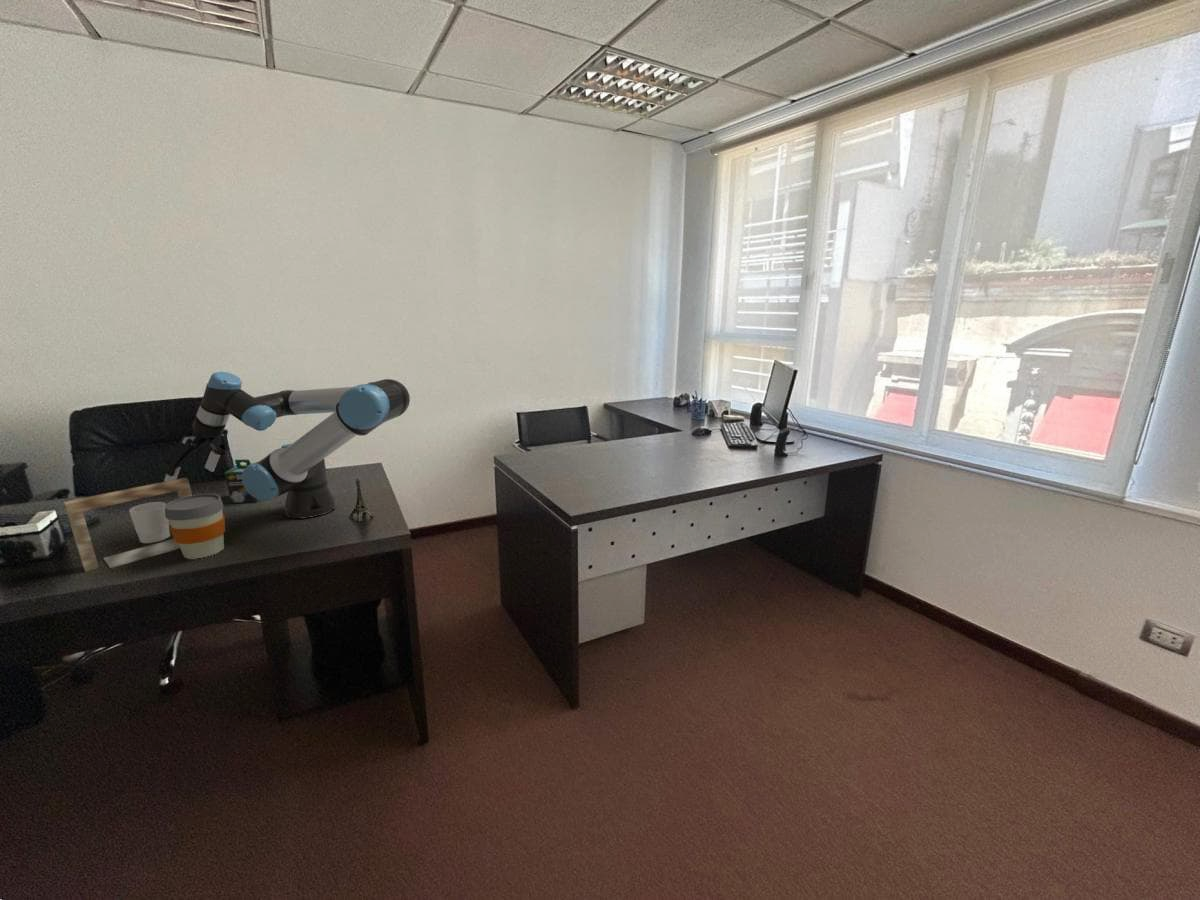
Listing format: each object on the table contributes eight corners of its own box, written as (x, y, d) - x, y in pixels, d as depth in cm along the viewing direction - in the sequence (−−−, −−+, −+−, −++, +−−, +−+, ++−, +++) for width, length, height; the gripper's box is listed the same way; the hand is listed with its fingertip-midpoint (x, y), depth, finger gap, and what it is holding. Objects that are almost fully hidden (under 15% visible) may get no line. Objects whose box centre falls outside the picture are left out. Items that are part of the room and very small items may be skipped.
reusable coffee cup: (168, 566, 132) (155, 513, 128) (184, 545, 143) (172, 496, 139) (225, 557, 137) (214, 506, 133) (236, 538, 148) (227, 491, 144)
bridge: (195, 533, 151) (182, 475, 145) (204, 541, 146) (191, 481, 141) (81, 565, 132) (62, 499, 127) (87, 574, 127) (67, 507, 122)
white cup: (178, 535, 149) (171, 504, 146) (146, 546, 142) (138, 514, 139) (163, 530, 152) (156, 500, 149) (131, 541, 145) (123, 509, 143)
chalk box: (271, 493, 183) (264, 454, 179) (258, 502, 175) (250, 462, 171) (244, 494, 182) (237, 455, 178) (229, 503, 174) (221, 462, 169)
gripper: (234, 406, 161) (214, 458, 167) (159, 421, 137) (139, 481, 143) (254, 418, 161) (233, 470, 167) (183, 436, 138) (161, 496, 144)
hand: (190, 475), depth 155 cm, fingers open, 13 cm apart
